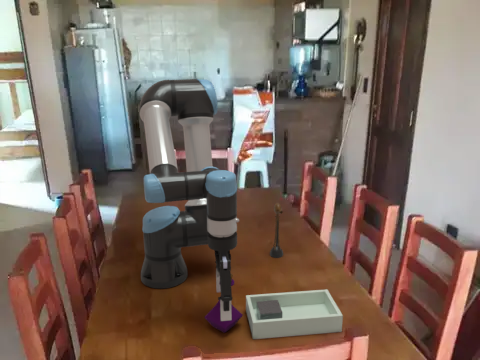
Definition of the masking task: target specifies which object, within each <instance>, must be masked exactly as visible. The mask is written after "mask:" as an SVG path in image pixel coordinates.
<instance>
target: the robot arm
mask: <svg viewBox="0 0 480 360" xmlns="http://www.w3.org/2000/svg"><path fill="white" fill-rule="evenodd" d="M140 99H141V100H140V102H139V107H138V111H139V112H138V113H139V117H140V120H141V121H142V122H143V125H144V133H145V142H146V143H145V144H146V151H147V152H146V153H147V159H148V161H147V162H148V167H149V168H148V169H149V174H145V175H144V176H143V190H144V199H145V201H146V202H147V203H151V204H162V203H163V204H164V203H169V202H170V203H171V202H179V201H181V202H182V201H186V203H185V204H184V210H180V209H179V208H178V206H175V205H163V206H159V207H155V208H153V209H151V210H149V211H147V212H146V213H145V215H144V216H143V217H142V230H141V231H142V232H143V233H142V234H143V246H144V247H143V248H144V260H143V263H142V267H141V269H140V280H141V283H142V284H143V285H144V286H147V287H149V288H151V289H152V288H153V289H169V288H174V287H176V286H179V285H181V284H183V283H184V282H185V281H186V280H187V278H188V268H187V264H186V262H185V259H184V258H183V255H182V248H186V247H187V248H189V247H195V246H196V247H197V246H205V245H206V246H207V245H208V247H209V249H211V250H213V251H214V257H215V261H214V263H215V269H216V268H217V271H218V272H219V274H220V276H219V277H217V276H216V275H215V279H216V281H215V283H216V284H215V285H216V287H215V288H216V293H220V296H221V297H220V296H218V297H217V300H218V301H219V300H220V312H221V321H228V320H232V314H231V304H232V301H233V293H232V292H233V291H232V286H231V274H232V273H231V270H232V266H231V265H232V264H231V261H232V254H231V251H232V250H234V249H236V248H237V246H238V232H237V231H238V223H239V222H240V218H238V217H237V215H238V184H237V175H236V174H235V172H233V171H230V170H225V169H220V168H218V167H216V166H213V165H214V164H213V155H212V154H213V153H212V144H211V129H210V125H211V123H212V122H213V121H214V116H215V115H217V114H218V112H219V111H218V109H219V107H218V97H217V93H216V89H215V86H214V85H213V83H212V81H210V79H204V78H203V79H201V78H187V79H163V80H160V81H159V80H158V81H157V82H155V83H153V84H152V85H151V86H150V87H148V89H147V90H146V91H145V92H144V93H143V95H142V97H141V98H140ZM171 117H177V122H178V123H179V125H181V126H182V129H183V142H184V152H185V165H186V171H183V172H182V171H181V172H179V170H178V163H177V157H176V152H175V145H174V141H173V140H174V139H173V134H172V129H171V123H170V118H171ZM219 267H220V268H219ZM219 283H220V284H219Z"/></svg>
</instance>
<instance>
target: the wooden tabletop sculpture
mask: <svg viewBox="0 0 480 360" xmlns="http://www.w3.org/2000/svg"><path fill="white" fill-rule="evenodd" d="M273 212H274V213H275V214H276V215H275V216H274V217H275V228H274V232H275V233H274V241H273V247H272V248H271V249H270V250H269V255H270V257H271V258H274V259H280V258H283V256H284V251H283V249H282V248H281V244H280V242H281V241H280V217H281V216H280V214H281V215H282V214H283V213H284V211H283V209H282V205H281V204H280V203H279V202H276V203H275V204H274V206H273Z"/></svg>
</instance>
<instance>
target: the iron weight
mask: <svg viewBox="0 0 480 360" xmlns="http://www.w3.org/2000/svg"><path fill="white" fill-rule="evenodd" d="M256 314H257V318H258V320H266V319H278V318H282V310H281V307H280V305H279V302H278V300H271V301H258V302H257V311H256Z"/></svg>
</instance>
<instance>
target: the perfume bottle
mask: <svg viewBox="0 0 480 360" xmlns="http://www.w3.org/2000/svg"><path fill="white" fill-rule="evenodd" d="M219 268H220V267H219ZM216 276H217V277H219V276H220V274H219V272H218V271H217V268H216V267H215V277H216ZM219 284H220V283H219ZM234 285H235V280H234V279H233V273H231V287H233V286H234ZM219 297H221V295H220V296H219ZM231 314H232V320H228V321H221V312H220V300H218V301H217V302H216V304H215V305H214V306H213V307H212V308H211V310H209V311H208V312H207V313H206V315H204V319H205V320H206V321H207V322H208V323H209V324H210V325H211V327H212V328H215V329H217V330H218V331H220V332H222V333H224V334H225V333H227V332H228V331H230V329H232V328H233V327H235V326H236V325H237V323H238V322H239V321H240V319H241V318H243V316H244V315H243V313H242V312H241V311H239V309H237V308H236V307H235V306H234V304H232V303H231Z"/></svg>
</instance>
